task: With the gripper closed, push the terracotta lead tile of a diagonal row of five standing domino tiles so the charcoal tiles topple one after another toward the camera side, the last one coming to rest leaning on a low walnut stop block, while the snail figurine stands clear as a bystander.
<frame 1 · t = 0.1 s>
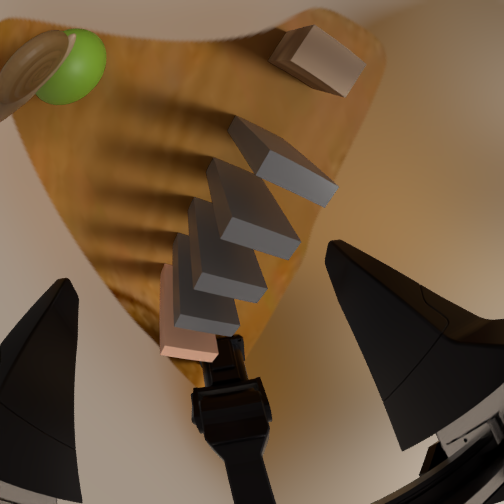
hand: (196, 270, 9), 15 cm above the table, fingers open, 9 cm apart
stop block: (300, 60, 17), on the table
snail figurine: (77, 70, 14), on the table
domino 2: (197, 245, 26), on the table
domino 4: (233, 174, 22), on the table
domino 5: (256, 134, 21), on the table
domino 3: (214, 211, 24), on the table
domino 1: (183, 274, 28), on the table
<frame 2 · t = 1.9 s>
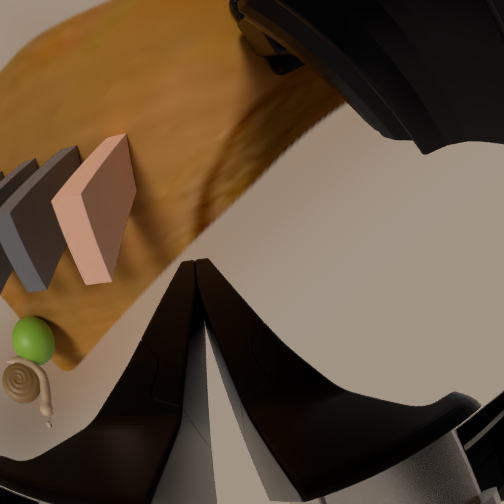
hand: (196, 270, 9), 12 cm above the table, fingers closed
snail figurine: (43, 322, 24), on the table
domino 2: (75, 175, 17), on the table
domino 3: (36, 186, 16), on the table
domino 1: (121, 164, 17), on the table
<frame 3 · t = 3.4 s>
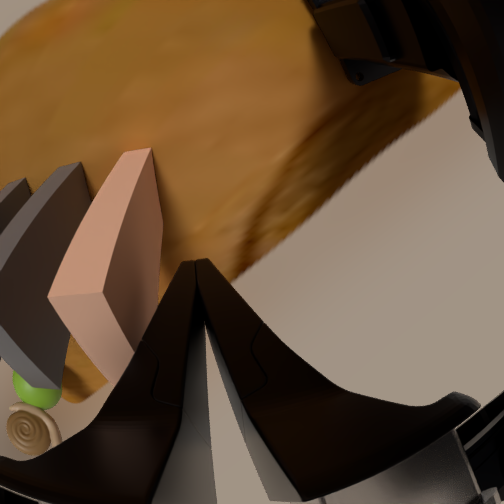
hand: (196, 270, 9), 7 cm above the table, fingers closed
snail figurine: (46, 359, 20), on the table
domino 2: (79, 201, 13), on the table
domino 3: (28, 213, 12), on the table
domino 1: (144, 190, 13), on the table, touching gripper
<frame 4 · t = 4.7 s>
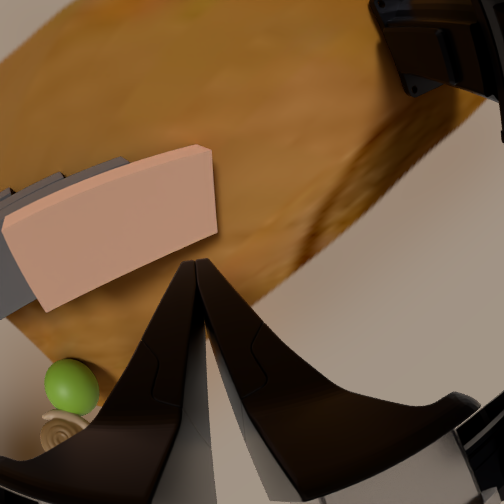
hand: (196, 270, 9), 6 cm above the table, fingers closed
snail figurine: (79, 362, 21), on the table
domino 2: (133, 200, 13), point 1 cm above the table, tilted 61°, touching domino 1, domino 3
domino 3: (72, 212, 12), point 1 cm above the table, tilted 58°, touching domino 2, domino 4
domino 1: (206, 189, 13), point 1 cm above the table, tilted 63°, touching domino 2
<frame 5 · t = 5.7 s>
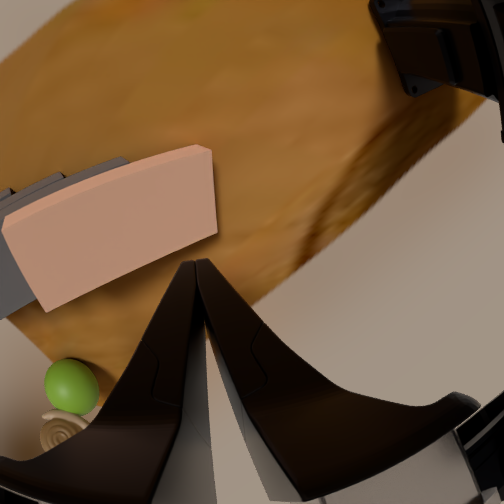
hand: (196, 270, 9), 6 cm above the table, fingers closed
snail figurine: (79, 362, 21), on the table
domino 2: (133, 200, 13), point 1 cm above the table, tilted 61°, touching domino 1, domino 3
domino 3: (72, 212, 12), point 1 cm above the table, tilted 58°, touching domino 2, domino 4
domino 1: (206, 189, 13), point 1 cm above the table, tilted 63°, touching domino 2
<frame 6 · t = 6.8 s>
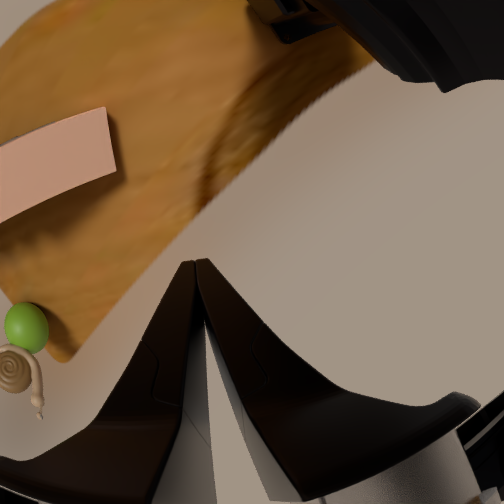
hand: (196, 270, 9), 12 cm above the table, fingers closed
snail figurine: (37, 309, 23), on the table
domino 1: (108, 138, 15), point 1 cm above the table, tilted 63°, touching domino 2
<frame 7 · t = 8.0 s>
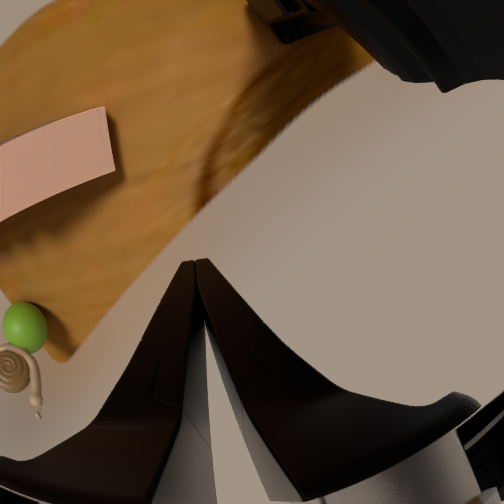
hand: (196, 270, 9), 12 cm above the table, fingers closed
snail figurine: (36, 308, 23), on the table
domino 1: (107, 138, 15), point 1 cm above the table, tilted 63°, touching domino 2
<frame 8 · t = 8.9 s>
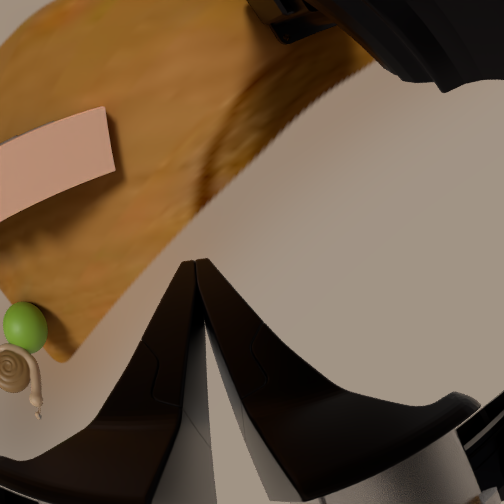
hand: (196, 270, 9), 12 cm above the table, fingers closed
snail figurine: (36, 308, 23), on the table
domino 1: (107, 138, 15), point 1 cm above the table, tilted 63°, touching domino 2
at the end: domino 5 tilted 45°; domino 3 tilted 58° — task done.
